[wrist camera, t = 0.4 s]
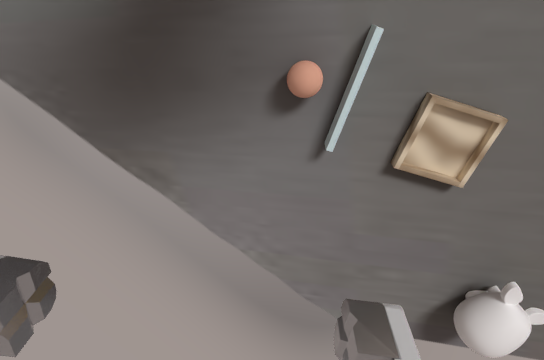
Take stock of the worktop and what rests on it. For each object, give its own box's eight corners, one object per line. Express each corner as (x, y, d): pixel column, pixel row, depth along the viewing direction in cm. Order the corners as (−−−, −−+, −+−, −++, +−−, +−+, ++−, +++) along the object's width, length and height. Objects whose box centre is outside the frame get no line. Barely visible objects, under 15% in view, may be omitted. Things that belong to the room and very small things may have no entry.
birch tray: (427, 92, 49) (432, 95, 47) (500, 115, 50) (508, 120, 49) (390, 162, 55) (393, 167, 53) (456, 181, 56) (462, 187, 54)
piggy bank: (454, 316, 74) (515, 278, 70) (492, 371, 65) (566, 331, 61) (429, 303, 68) (495, 259, 63) (467, 362, 59) (548, 316, 54)
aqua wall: (371, 24, 45) (376, 26, 43) (378, 26, 45) (383, 29, 43) (324, 142, 54) (326, 150, 51) (330, 144, 54) (332, 152, 51)
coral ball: (293, 53, 48) (293, 59, 43) (326, 63, 48) (330, 70, 44) (282, 87, 50) (282, 96, 46) (314, 96, 50) (316, 106, 46)
